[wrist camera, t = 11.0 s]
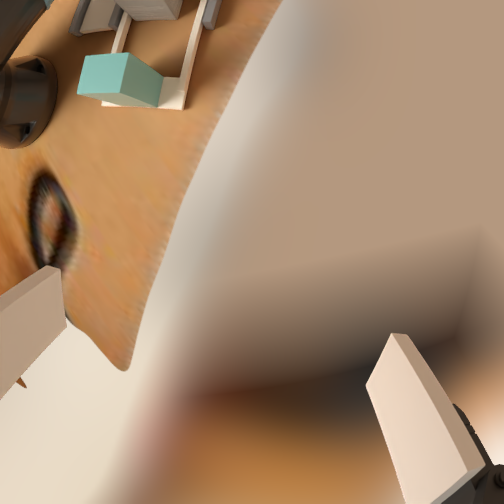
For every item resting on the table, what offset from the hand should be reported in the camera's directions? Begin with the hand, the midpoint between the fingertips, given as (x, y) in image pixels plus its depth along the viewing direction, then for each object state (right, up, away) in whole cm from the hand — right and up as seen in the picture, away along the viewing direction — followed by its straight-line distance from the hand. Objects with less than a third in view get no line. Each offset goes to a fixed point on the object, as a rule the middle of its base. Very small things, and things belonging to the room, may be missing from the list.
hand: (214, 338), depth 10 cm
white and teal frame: (-10, +31, +18) cm, 37 cm away
